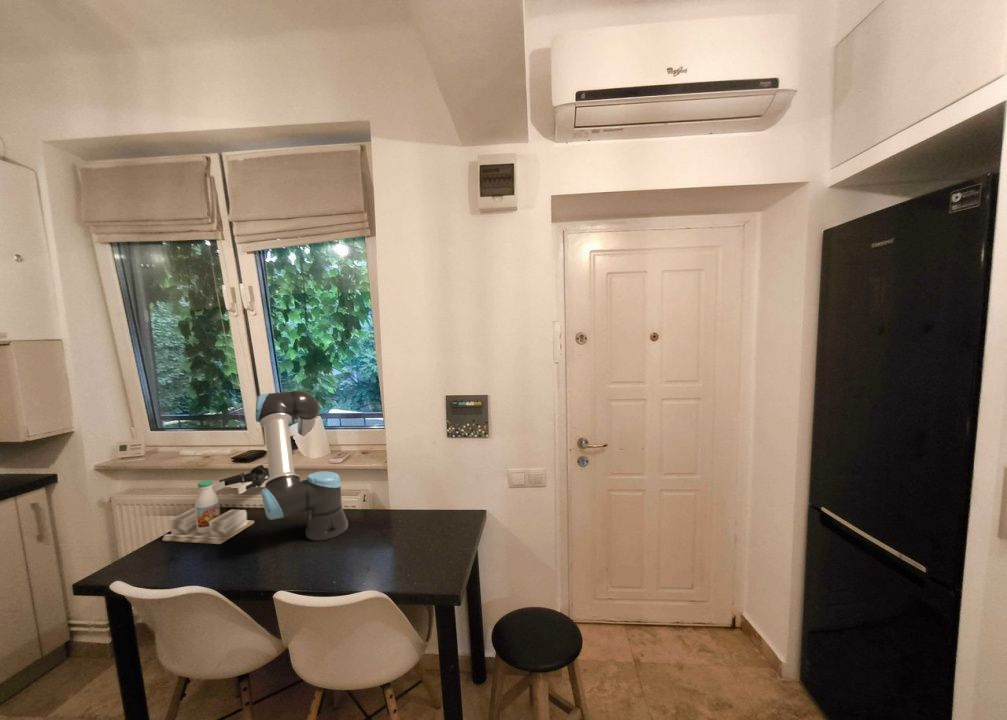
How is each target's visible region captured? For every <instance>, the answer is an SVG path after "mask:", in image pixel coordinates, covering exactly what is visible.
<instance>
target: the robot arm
mask: <svg viewBox="0 0 1007 720" xmlns="http://www.w3.org/2000/svg"><path fill="white" fill-rule="evenodd" d="M319 414H320V403H319V401H318V400H317V398H316V397H314V396H313V395H312V394H311V393H308V392H307V391H304V390H291V391H281V392H273V393H271V392H268V393H263V394H259V395H258V396H257V398H256V401H255V414H254V415H255V417H254V418H255V422H256V423H259V425H260V426H261V427H262V428H264V433H265V434H264V435H265V445H266V454H267V456H266V457H267V461H266V462H263V463H262V464H267V463H268V468H264V467H263V465H261V464H260V465H257V466H255V467H253V468H252V469H251V471H250V472H247V473H244V472H242V473H240V474H236V475H233V476H228V477H226V478H222V479H219V482H217V483H216V484H212V488H213V490H214V492H215V493H216V492H217V491H219V490H221V489H224V488H226V487H227V486H230V485H235V484H240V483H241V484H242V485H241V486H238V487H237V495H242V494H243V493H245V492H247V491H249V490H250V489H252V488H256V487H258V488H260V487H261V486H262V485H263V484H265V486H264V488H263V489H261V490H260V494H261V498H262V503H263V507H264V511H265V515H266V517H267V519H268V520H277V519H283V518H286V517H290V516H294V515H297V514H301V513H304V512H309V518H308V520H307V525H306V529H305V536H306V538H307V539H308V540H310V541H325V540H329V539H333V538H336V537H337V536H340V535H341V534H343V533H344V532H346V531H347V530H348V528H349V524H348V523H349V521H348V518H347V516H346V513H345V511H344V510H343V506H342V505H343V503H342V502H343V501H342V488H341V487H342V483H341V477H340V475H339V474H338V473H336V472H333V471H327V470H326V471H325V470H324V471H322V470H321V471H316V472H313V473H310V474H308V475H307V476H306V479H302V480H301V478H300V475H298V474H296V473H295V466H294V458H293V457H294V456H293V451H297V450H298V447H297V445H296V443H295V440H294V439H293V436H294V435H291V434H290V427H289V426H290V424H291V422H292V420H293V418H297V430H298V433H299V434H300V435H302V436H305V435H306V434H307V433H308V432H310V431H311V430H312V428H313V427H314V425H315V426H316V419H317V417H318V415H319ZM297 430H296V431H297ZM244 483H245V484H244Z"/></svg>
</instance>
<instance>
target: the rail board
mask: <svg viewBox="0 0 1007 720" xmlns="http://www.w3.org/2000/svg"><path fill="white" fill-rule="evenodd" d="M169 524H170V525H169V526H170V534H169V533H166V534H163V537H162V541H163V542H164V541H165V542H180V543H197V544H198V543H199V544H215V545H221V544H223V543H225V542H226V541H228V540H229V539H231V538H233V537H234V536H235V535H237V534H239V533H241V532H242V531H243V530H245V529H247V528H249V527H250V526H252V525H253V524H255V520H252V519H251V520H248V512H247V510H246V509H230V510H228V511H226V512H224V513H222V514H220V516H218V517H216V518H215V519H213V520H211V521H209V527H210V533H205V534H199V533H198V532H197V525H196V514H195V507H193V508H191V509H188V510H186V511H184V512H183V513H181V514H178V515H176V516H174V517H172V518H171V519H169Z"/></svg>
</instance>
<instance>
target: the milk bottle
mask: <svg viewBox="0 0 1007 720" xmlns="http://www.w3.org/2000/svg"><path fill="white" fill-rule="evenodd" d="M212 486H213V480H212V479H205V480H202V481H200V482H198V483H197V487H198V488H197V489H198V494H197V496H196V499H195V501H194V502H195V503H194V508H195V514H196V525H197V532H198V533H199V534H205V533H210V527H209V521H211V520H213V519H215V518H216V517H218V516H220V515H221V509H220V508H221V507H220V500H219V496H218V495H217V492H216V491H215V492H214V490H213V488H212Z"/></svg>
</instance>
